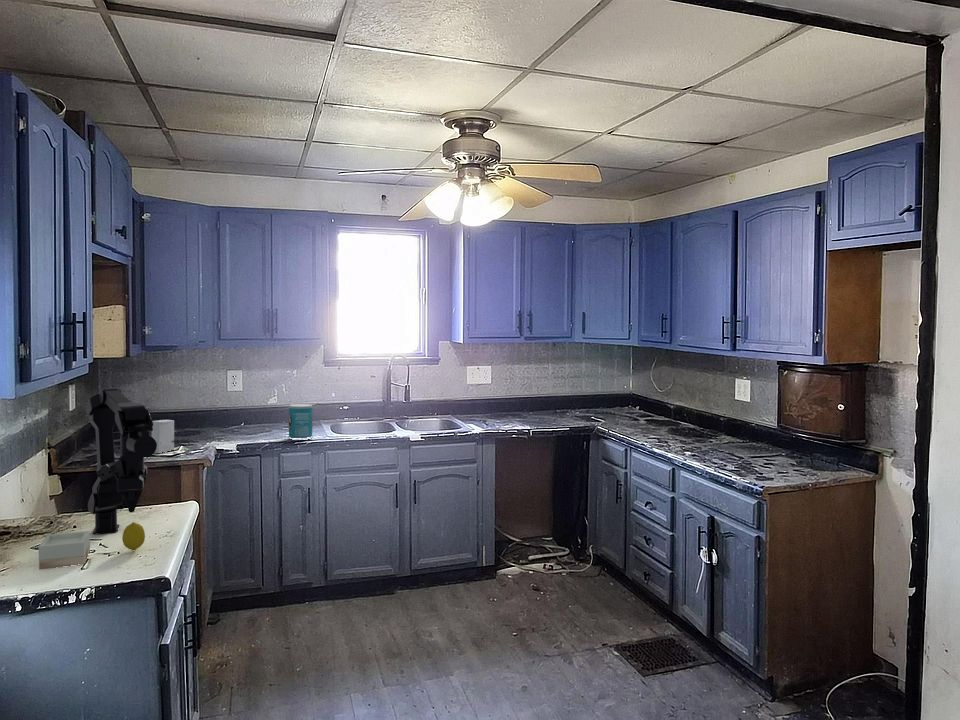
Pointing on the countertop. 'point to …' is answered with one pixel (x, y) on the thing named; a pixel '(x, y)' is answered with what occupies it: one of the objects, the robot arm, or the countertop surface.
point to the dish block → (64, 545)
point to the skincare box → (163, 435)
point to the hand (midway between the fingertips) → (132, 507)
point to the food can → (300, 420)
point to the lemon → (133, 536)
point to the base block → (63, 561)
